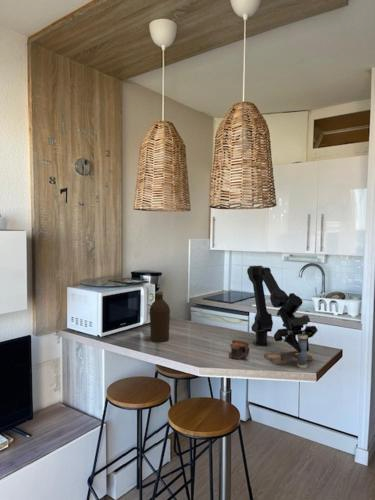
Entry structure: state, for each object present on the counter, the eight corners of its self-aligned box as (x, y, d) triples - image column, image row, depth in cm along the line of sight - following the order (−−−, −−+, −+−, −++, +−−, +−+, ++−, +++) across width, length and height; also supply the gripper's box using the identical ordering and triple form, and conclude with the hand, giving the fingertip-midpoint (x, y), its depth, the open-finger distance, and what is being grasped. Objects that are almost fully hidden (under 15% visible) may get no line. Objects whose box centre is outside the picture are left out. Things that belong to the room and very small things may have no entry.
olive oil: (157, 344, 184) (156, 294, 183) (145, 339, 192) (145, 291, 191) (174, 340, 190) (174, 292, 189) (162, 335, 199) (162, 289, 198)
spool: (294, 365, 153) (295, 334, 152) (301, 363, 155) (301, 333, 155) (302, 368, 150) (303, 337, 149) (309, 366, 152) (309, 335, 151)
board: (264, 357, 164) (264, 347, 164) (298, 352, 170) (298, 343, 169) (276, 364, 154) (276, 354, 154) (312, 359, 160) (312, 349, 160)
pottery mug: (222, 357, 165) (226, 339, 169) (238, 363, 169) (242, 345, 173) (240, 357, 156) (243, 338, 159) (256, 364, 159) (259, 345, 163)
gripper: (277, 310, 152) (293, 344, 142) (315, 307, 158) (332, 339, 148) (267, 324, 160) (281, 357, 150) (303, 321, 166) (319, 352, 156)
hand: (304, 351), depth 151 cm, fingers closed on spool, 3 cm apart
